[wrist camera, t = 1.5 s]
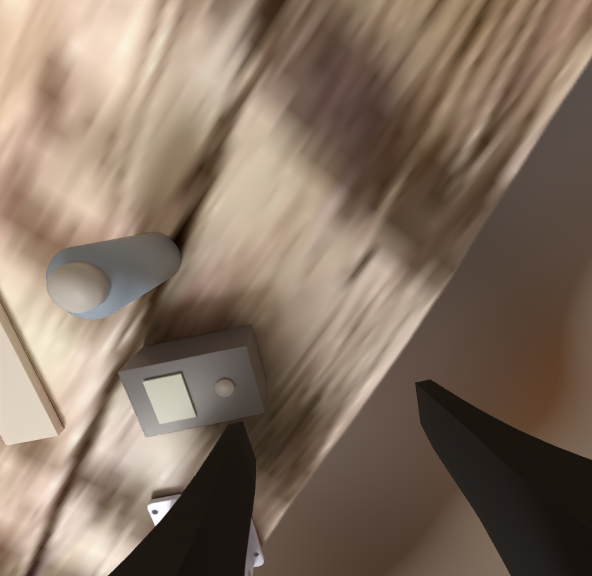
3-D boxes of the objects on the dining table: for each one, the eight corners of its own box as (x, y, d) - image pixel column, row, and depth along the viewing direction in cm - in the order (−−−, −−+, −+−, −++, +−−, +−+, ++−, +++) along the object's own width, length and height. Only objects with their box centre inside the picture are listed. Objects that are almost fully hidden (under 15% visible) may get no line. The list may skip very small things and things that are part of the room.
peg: (186, 275, 19) (126, 318, 12) (140, 284, 19) (50, 333, 12) (172, 228, 18) (97, 242, 11) (123, 237, 18) (15, 258, 11)
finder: (267, 382, 22) (264, 414, 19) (166, 402, 22) (144, 439, 19) (251, 323, 21) (245, 346, 17) (144, 345, 21) (116, 373, 17)
